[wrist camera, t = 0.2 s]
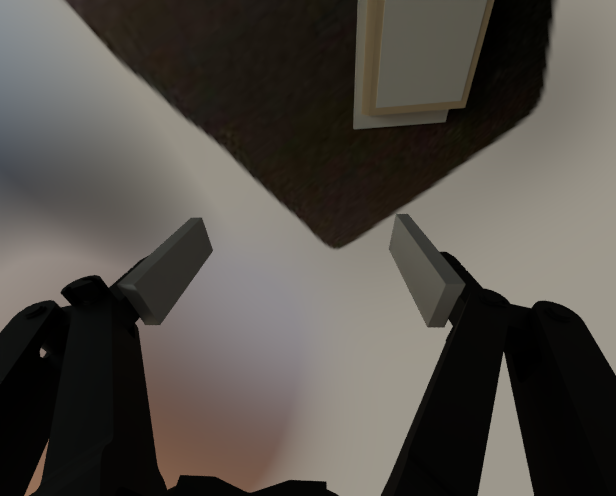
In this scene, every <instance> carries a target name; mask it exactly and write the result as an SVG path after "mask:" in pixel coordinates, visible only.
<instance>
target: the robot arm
mask: <svg viewBox="0 0 616 496" xmlns="http://www.w3.org/2000/svg"><path fill="white" fill-rule="evenodd" d="M389 250H390V252H391V254H392V256H393V258H394V260H395V262H396V264H397V266H398V268H399V270H400V273H401V275H402V277H403V279H404V281H405V282H406V285H407V287H408V289H409V291H410V293H411V295H412V297H413V299H414V301H415V303H416V305H417V307H418V309H419V311H420V313H421V315H422V317H423V319H424V321H425V323H426V325H427V327H445V325H446V323H447V321H448V319H449V321H450V322H451V324H452V325H453V327H452V329H451V331H450V333H449V335H448V337H447V339H446V343H445V346H444V348H443V350H442V353H441V355H440V358H439V360H438V362H437V365H436V367H435V370H434V372H433V375H432V377H431V379H430V382H429V384H428V386H427V389H426V391H425V393H424V396H423V399H422V401H421V404H420V405H419V408H418V410H417V413H416V415H415V417H414V420H413V423H412V425H411V427H410V429H409V432H408V434H407V437H406V439H405V441H404V444H403V446H402V449H401V451H400V453H399V456H398V458H397V461H396V463H395V465H394V468H393V470H392V473H391V475H390V477H389V479H388V482H387V484H386V486H385V488H384V490H383V492H382V494H381V496H477V495H478V489H479V484H480V479H481V473H482V468H483V462H484V456H485V451H486V445H487V440H488V434H489V429H490V423H491V417H492V412H493V406H494V401H495V395H496V390H497V383H498V378H499V372H500V367H501V362H502V356H503V352H504V353H505V358H506V363H507V368H508V372H509V377H510V382H511V387H512V392H513V396H514V400H515V406H516V411H517V415H518V420H519V425H520V429H521V434H522V439H523V444H524V449H525V453H526V458H527V463H528V468H529V473H530V477H531V482H532V487H533V492H534V496H616V375H615V373H614V372H613V370H612V368H611V367H610V365H609V363H608V362H607V360H606V359H605V357H604V355H603V353H602V352H601V350H600V348H599V347H598V345H597V343H596V342H595V340H594V338H593V337H592V335H591V333H590V331H589V330H588V328H587V326H586V325H585V323H584V321H583V320H582V319H581V318H580V317H579V316H578V315H577V314H576V313H575V312H573V311H572V310H570V309H569V308H567V307H565V306H563V305H560V304H557V303H554V302H549V301H538V302H536V303H535V304H534V305H533V307H532V308H527V307H522V306H518V305H513V304H510V303H509V301H508V300H507V299H506V298H505V297H503V296H501V294H499V293H496V292H494V291H492V290H488V289H483V288H482V287H481V286H480V285H479V283H478V282H477V281H476V280H475V279H474V278H473V277H472V276H471V274H470V273H469V272H468V271H466V269H465V268H464V267H463V266H462V265H461V263H460V262H459V261H458V260H457V259H456V258H455V257H454V256H452V255H450V254H449V253H447V252H439V251H438V250H437V249H436V247H435V246H434V245H433V244H432V243H431V241H430V240H429V239H428V238H427V237H426V235H425V234H424V233H423V232H422V231H421V229H420V228H419V227H418V226H417V225H416V223H415V222H414V221H413V220H412V218H411V217H410V216H409V215H408V214H396V217H395V222H394V227H393V232H392V237H391V241H390V246H389ZM212 251H213V249H212V246H211V243H210V241H209V237H208V235H207V231H206V228H205V225H204V223H203V220H202V218H190V219H189V220H188V221H187V222H186V223H185V224H184V225H183V226H182V227H180V228H179V229H178V230H177V231H176V232H175V233H174V234H173V235H171V236H170V237H169V238H168V239H167V240H166V241H165V242H164V243H163V244H161V245H160V246H159V247H158V248H157V249H156V250H155V251H154V252H153V253H151V254H150V255H149V256H147V257H145V258H143V259H142V260H140V261H139V262H138V263H137V264H136V265H135V266H134V267H133V268H131V269H130V270H129V271H128V273H125V274H124V275H123V276H122V277H121V278H120V279H118V280H117V281H116V282H115V283H114V284H113V285H112V286H110V287H109V288H108V287H107V285H106V284H105V283H104V281H103V280H102V279H101V277H100V276H97V275H93V276H87V277H83V278H80V279H78V280H75V281H73V282H72V283H70V284H68V285H67V286H66V287H64V288H63V289H62V291H61V294H62V295H63V296H64V297H65V298H66V299H67V300H68V301H69V303H70V304H71V306H65V307H59V306H58V304H57V303H55V301H51V300H48V301H43V302H39V303H35V304H33V305H31V306H28V307H26V308H25V309H24V310H22V311H21V312H19V313H18V314H17V315H15V316H14V317H13V318H12V319H11V321H10V322H9V323H8V324H7V325H6V326H5V328H4V329H3V330H2V331H1V333H0V496H24V495H25V492H26V490H27V488H28V485H29V483H30V481H31V479H32V476H33V474H34V472H35V469H36V467H37V465H38V462H39V460H40V458H41V455H42V453H43V451H44V449H45V446H46V444H47V442H48V439H49V442H48V448H47V453H46V459H45V464H44V470H43V475H42V480H41V484H40V486H39V488H38V489H37V490H36V491H35V492H34V493H32V494H31V495H29V496H338V495H337V494H336V493H333V492H331V491H329V490H327V489H326V482H324V481H323V482H322V481H301V480H288V481H285V482H282V483H279V484H276V485H273V486H270V487H267V488H264V489H261V490H259V491H255V492H252V493H248V492H245V491H243V490H241V489H239V488H237V487H235V486H233V485H231V484H229V483H227V482H225V481H223V480H221V479H219V478H217V477H211V476H189V475H180V477H179V480H178V483H177V485H176V486H175V487H173V488H171V489H168V490H167V488H166V485H165V482H164V479H163V477H162V476H161V474H160V472H159V469H158V466H157V459H156V453H155V446H154V438H153V431H152V424H151V416H150V409H149V402H148V395H147V388H146V381H145V374H144V367H143V359H142V352H141V345H140V338H139V331H138V327H137V325H136V324H135V322H136V321H137V320H138V319H139V318H141V319H142V321H143V322H144V324H145V325H160V324H161V323H162V322H163V320H164V319H165V317H166V316H167V315H168V313H169V312H170V310H171V309H172V307H173V306H174V305H175V303H176V302H177V300H178V299H179V298H180V296H181V295H182V294H183V292H184V291H185V289H186V288H187V286H188V285H189V284H190V282H191V281H192V280H193V278H194V277H195V275H196V274H197V273H198V271H199V270H200V268H201V267H202V265H203V264H204V262H205V261H206V260H207V258H208V257H209V256H210V254H211V253H212ZM41 348H42V349H44V350H45V351H46V354H45V356H44V357H43V358H42V357H40V349H41Z"/></svg>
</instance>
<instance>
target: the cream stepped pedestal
mask: <svg viewBox="0 0 616 496" xmlns="http://www.w3.org/2000/svg"><path fill="white" fill-rule="evenodd" d="M493 4H494V0H358V11H357V38H356V66H355V94H354V121H353V129H365V128H378V127H390V126H403V125H415V124H428V123H440V122H446V118H447V114H448V110H449V109H457V108H465V106H466V102H467V99H468V95H469V91H470V88H471V84H472V80H473V77H474V73H475V69H476V66H477V62H478V58H479V55H480V51H481V47H482V44H483V40H484V36H485V33H486V29H487V26H488V22H489V18H490V15H491V11H492V7H493Z"/></svg>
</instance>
